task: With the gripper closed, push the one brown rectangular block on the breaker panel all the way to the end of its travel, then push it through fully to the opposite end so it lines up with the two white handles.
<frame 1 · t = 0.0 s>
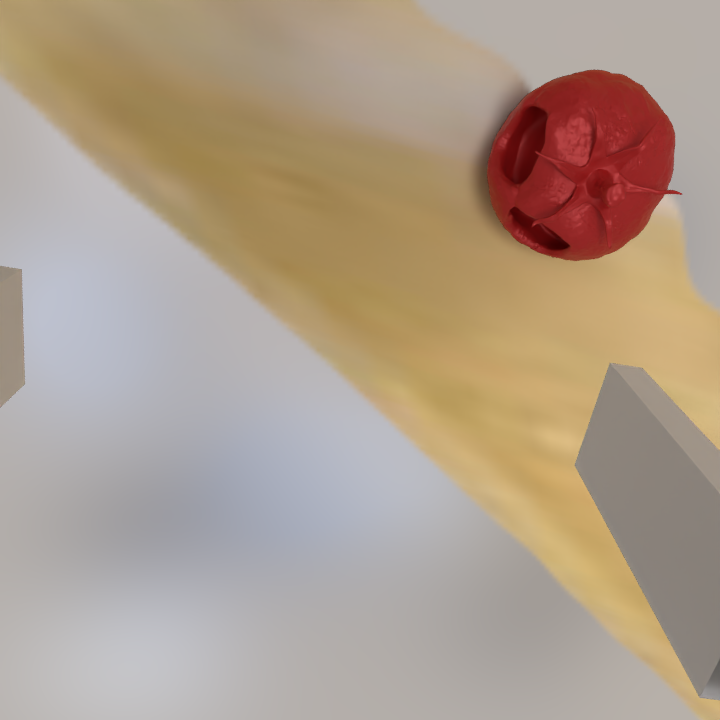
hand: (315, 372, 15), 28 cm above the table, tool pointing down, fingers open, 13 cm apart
pomegranate: (560, 160, 41), on the table
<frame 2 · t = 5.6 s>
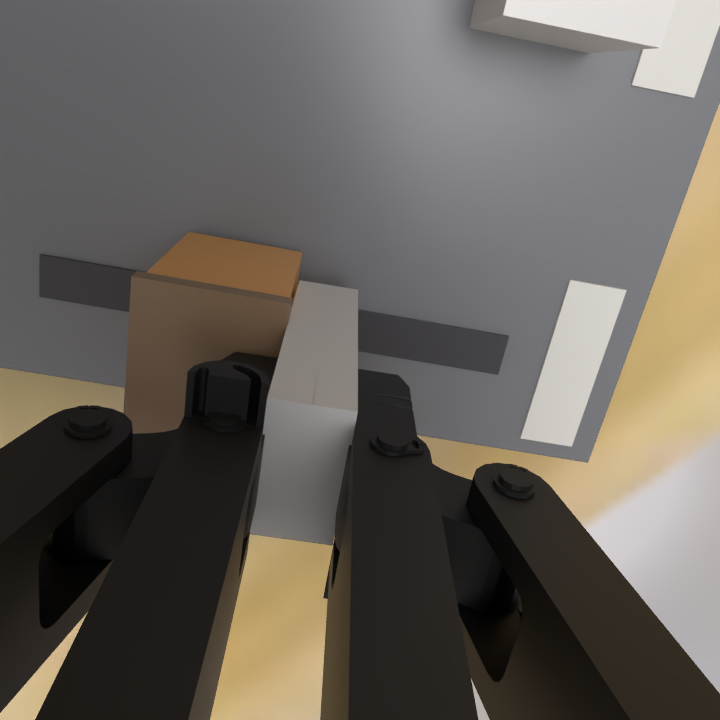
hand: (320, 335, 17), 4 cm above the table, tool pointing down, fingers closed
brown rectangular block: (222, 343, 17), point 5 cm above the table, slide at -1.1 cm, touching gripper
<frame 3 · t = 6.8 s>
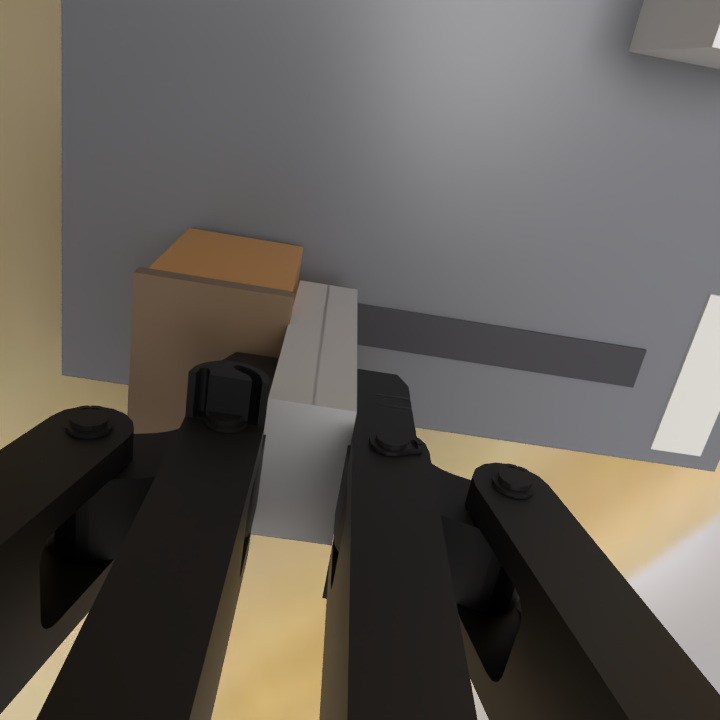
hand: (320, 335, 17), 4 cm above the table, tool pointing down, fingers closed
brown rectangular block: (224, 339, 17), point 5 cm above the table, slide at -5.1 cm, touching gripper
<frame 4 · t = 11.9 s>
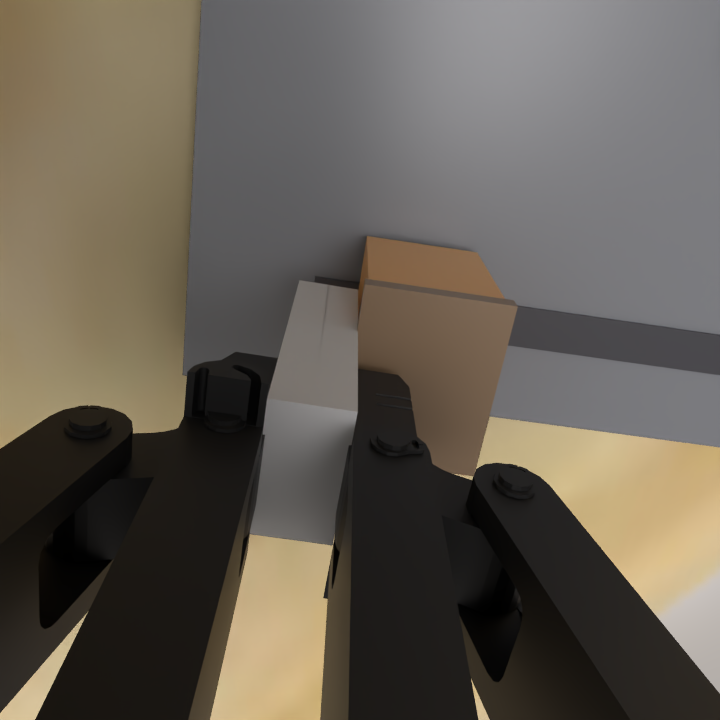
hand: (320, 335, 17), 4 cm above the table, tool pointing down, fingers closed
brown rectangular block: (415, 345, 17), point 5 cm above the table, slide at -3.8 cm, touching gripper
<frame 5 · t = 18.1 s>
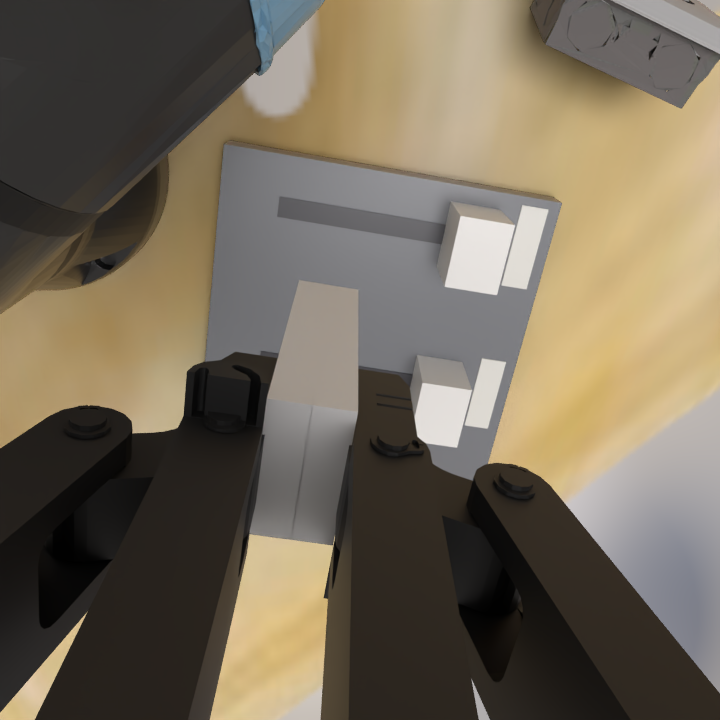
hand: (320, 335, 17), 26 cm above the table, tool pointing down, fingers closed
breaker panel: (358, 362, 47), on the table
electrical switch: (601, 19, 38), on the table
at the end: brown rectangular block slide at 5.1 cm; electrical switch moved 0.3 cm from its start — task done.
